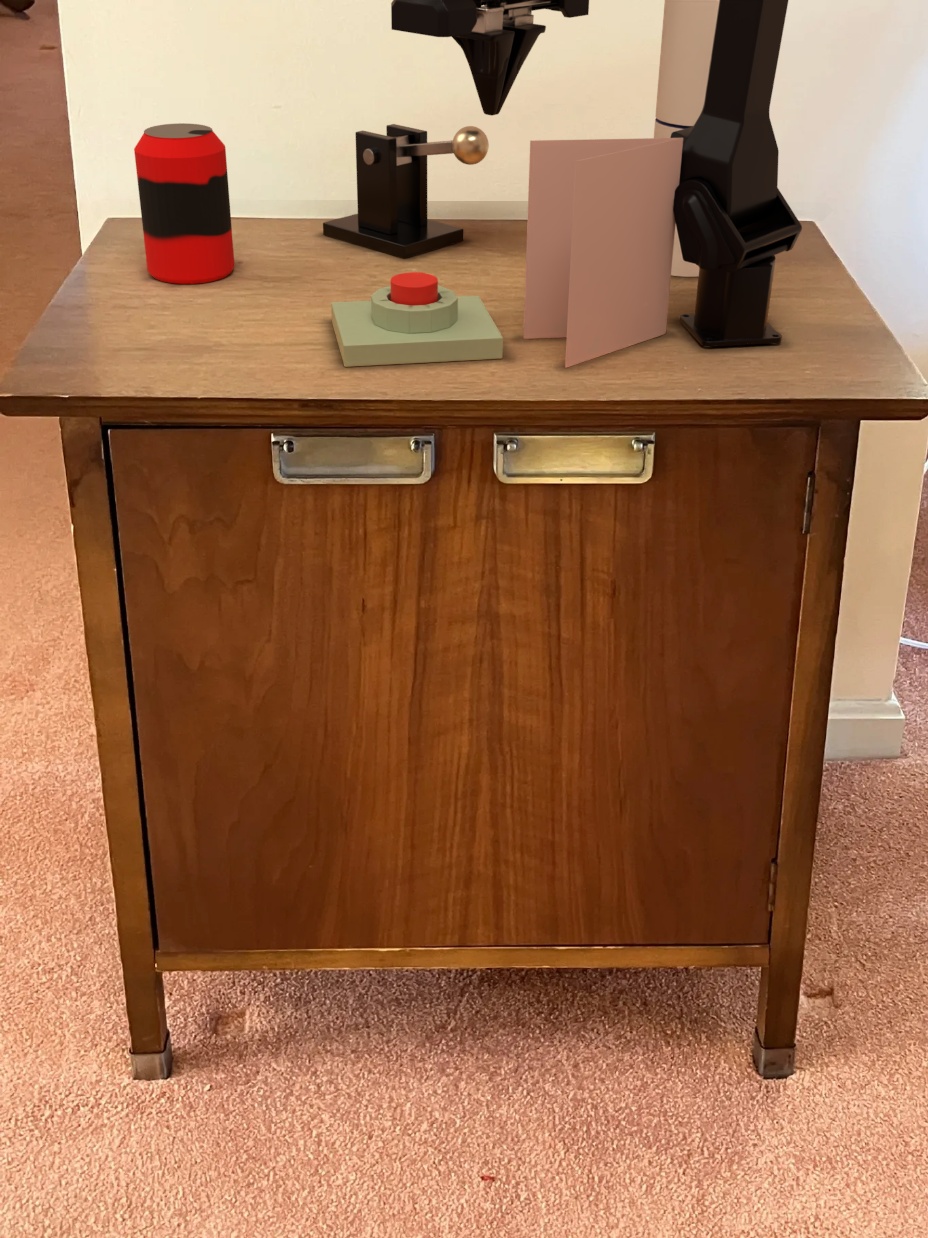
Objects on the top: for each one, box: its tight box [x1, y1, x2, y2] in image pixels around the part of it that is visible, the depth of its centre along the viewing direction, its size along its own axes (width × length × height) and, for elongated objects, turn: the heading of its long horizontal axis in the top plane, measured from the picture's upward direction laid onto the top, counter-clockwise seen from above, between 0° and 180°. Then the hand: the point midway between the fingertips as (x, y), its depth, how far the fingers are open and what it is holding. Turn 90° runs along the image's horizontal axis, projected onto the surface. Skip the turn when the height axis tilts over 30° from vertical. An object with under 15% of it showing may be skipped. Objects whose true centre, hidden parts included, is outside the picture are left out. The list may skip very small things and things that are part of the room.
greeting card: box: [523, 137, 683, 369], centre depth 101 cm, size 11×7×15 cm, turn 97°
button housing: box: [330, 284, 504, 368], centre depth 106 cm, size 10×12×4 cm
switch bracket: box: [322, 123, 465, 260], centre depth 128 cm, size 11×8×10 cm
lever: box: [394, 125, 490, 166], centre depth 123 cm, size 13×3×3 cm, turn 48°
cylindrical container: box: [653, 0, 720, 278], centre depth 118 cm, size 7×7×25 cm
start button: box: [390, 271, 439, 306], centre depth 104 cm, size 4×4×2 cm
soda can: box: [133, 122, 235, 285], centre depth 118 cm, size 8×8×12 cm
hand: (491, 114), depth 116 cm, fingers closed
